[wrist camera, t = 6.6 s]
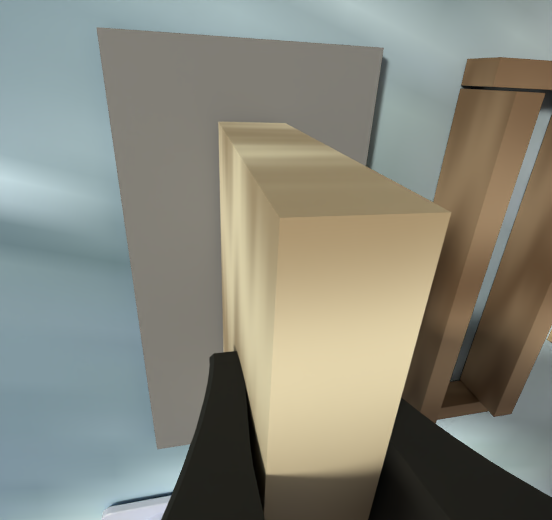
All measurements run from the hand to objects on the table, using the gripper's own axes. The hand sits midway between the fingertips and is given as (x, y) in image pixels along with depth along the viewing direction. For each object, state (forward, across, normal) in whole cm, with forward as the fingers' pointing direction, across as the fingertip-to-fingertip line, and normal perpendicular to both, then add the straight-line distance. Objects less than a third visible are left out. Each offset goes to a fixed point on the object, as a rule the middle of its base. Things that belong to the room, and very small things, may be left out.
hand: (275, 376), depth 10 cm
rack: (+5, -10, 0) cm, 11 cm away
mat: (+5, 0, 0) cm, 5 cm away
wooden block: (+4, 0, 0) cm, 4 cm away
